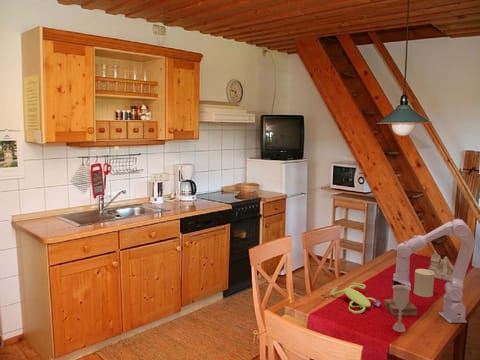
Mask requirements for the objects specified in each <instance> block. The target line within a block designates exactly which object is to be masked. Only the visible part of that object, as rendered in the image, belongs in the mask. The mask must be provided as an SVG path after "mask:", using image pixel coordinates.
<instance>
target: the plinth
mask: <svg viewBox="0 0 480 360" xmlns="http://www.w3.org/2000/svg"><path fill="white" fill-rule="evenodd" d="M383 306H384V307H385V308H386V309H387V310H388V312H389V313H390V314H391V315H392V316H399V314H398V313H399V309H397V307H396V305H395V303H394V300H393V298H385V299H384V300H383ZM401 312H402V315H401V316H418V308H417V307H416V306H415V305H414V304H413V303H412V302H411V301H410V300H409V301H408V303H407V305H406V307H405V308H404V309H403V310H402V311H401Z"/></svg>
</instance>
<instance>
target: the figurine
mask: <svg viewBox="0 0 480 360" xmlns="http://www.w3.org/2000/svg"><path fill="white" fill-rule="evenodd" d="M350 284H351V285H349V286H348V287H344V289H341V290H338V286H335V287H334V288H332V289H331V290H330V292H329V295H330V296H333V297H334V296H336V295H339V294H342V293H344V294H345V296H346V297H348V299H350V302H349V304H348V310H349V312H350V313H353V314H356V315H358V314H363V313H364V312H365V311H366V308H369V307H371V302H370V301H373V302H374V303H373V305H374V306H376V307H377V308H379V307H380V305H381V304H382V303H381V302H380V301H379V300H378V299H377V298H376V299H375V298H373V297H366V296H365V294H363V293H361V292H359V291H358V290H356V289H354V288H359V289H361V290H365V289H366V287H367V285H366V284H364V283H359V282H351V283H350ZM337 290H338V291H337ZM353 303H355V304H357V305H353ZM351 308H360V310H353V309H351Z"/></svg>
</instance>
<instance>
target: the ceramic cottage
mask: <svg viewBox="0 0 480 360" xmlns="http://www.w3.org/2000/svg"><path fill="white" fill-rule="evenodd" d="M441 256H442V255H440V254H439V253H438V252H437V251H436V250H434V253H432V254H431V257H430V263H429V266H428V267H427V270H431V271H433V272H434V273H435V274H434V279H438V280H439V279H440V280H443V281H448V280H449V278H450V276H451V275H452V273H453V270H454V266H455V265H453V264H452V263H451V261H450V259H449V258H448V256H444V257H443V259H442V257H441Z"/></svg>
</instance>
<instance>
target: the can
mask: <svg viewBox="0 0 480 360" xmlns="http://www.w3.org/2000/svg"><path fill="white" fill-rule="evenodd" d="M434 274H435V273H434V272H433V271H431V270H428V268H427V269H425V268H416V269H415V270H414V285H413V294H414V295H416V296H419V297H421V298H431V297H433V296H434V285H435V284H434V283H435V278H434Z"/></svg>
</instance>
